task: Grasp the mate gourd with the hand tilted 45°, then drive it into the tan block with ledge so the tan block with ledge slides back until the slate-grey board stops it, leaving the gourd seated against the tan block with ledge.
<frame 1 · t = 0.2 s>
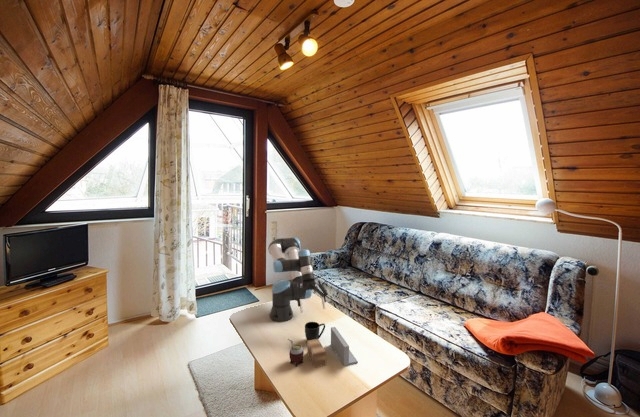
hand: (313, 310, 166), 16 cm above the table, tool tilted 35°, fingers open, 13 cm apart
mate gourd: (296, 363, 143), on the table
mug: (315, 340, 163), on the table
backstop board: (339, 354, 150), on the table
tan block with ledge: (315, 352, 146), point 4 cm above the table, slide at 0.0 cm
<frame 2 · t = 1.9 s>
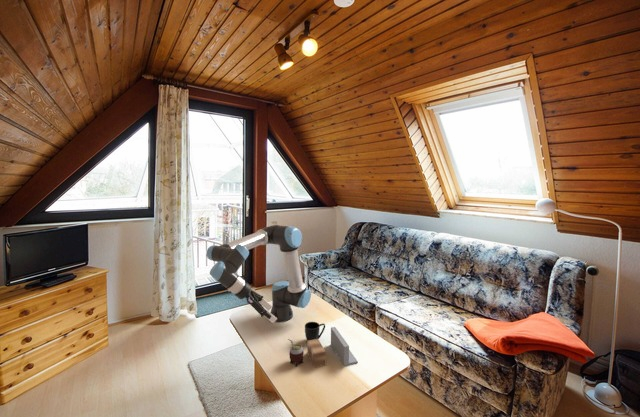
hand: (272, 314, 139), 26 cm above the table, tool tilted 45°, fingers open, 13 cm apart
nothing on the table moved.
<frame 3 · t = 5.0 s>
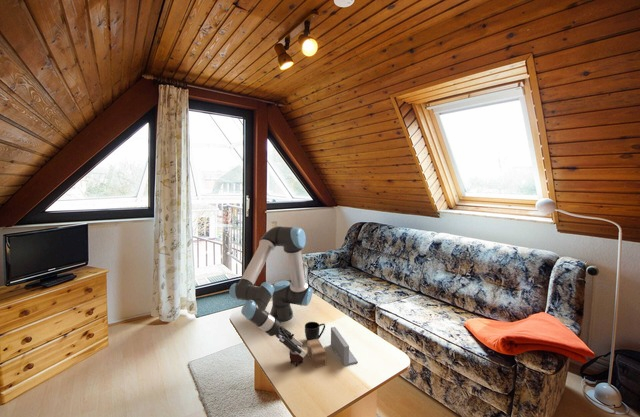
hand: (302, 350, 144), 6 cm above the table, tool tilted 45°, fingers open, 7 cm apart
mate gourd: (296, 363, 143), on the table, touching gripper
everything else where it was.
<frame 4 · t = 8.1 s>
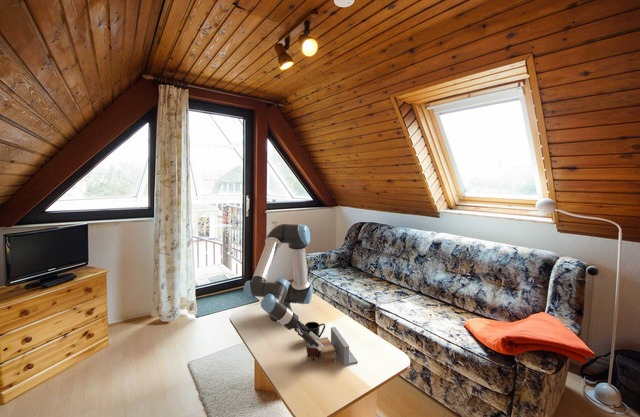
hand: (319, 344, 146), 8 cm above the table, tool tilted 45°, fingers closed on mate gourd, 7 cm apart
mate gourd: (312, 357, 145), point 2 cm above the table, touching gripper, tan block with ledge
tan block with ledge: (325, 350, 148), point 4 cm above the table, slide at 5.1 cm, touching mate gourd
everything else where it was.
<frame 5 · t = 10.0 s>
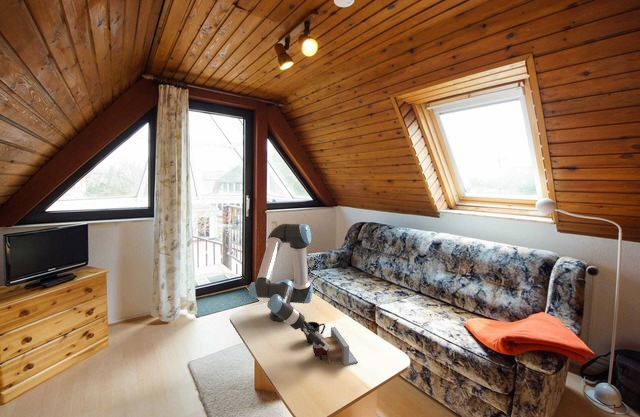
hand: (325, 343, 147), 7 cm above the table, tool tilted 45°, fingers closed on mate gourd, 7 cm apart
mate gourd: (320, 356, 147), point 1 cm above the table, touching gripper, tan block with ledge
tan block with ledge: (331, 349, 149), point 4 cm above the table, slide at 8.5 cm, touching backstop board, mate gourd
everything else where it was.
when the fingers open (7 cm above the table, at t = 10.0 s): mate gourd stays where it is, resting on tan block with ledge.
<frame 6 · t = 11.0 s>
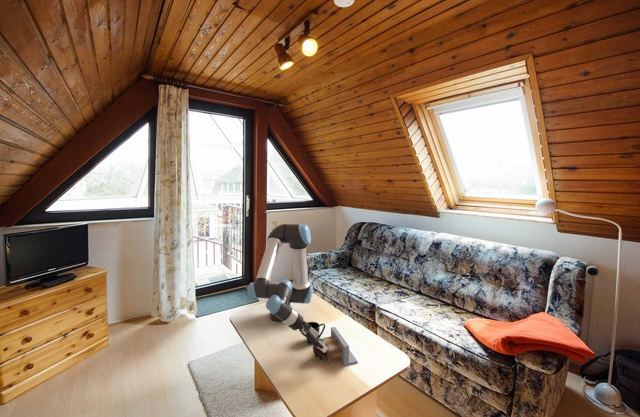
hand: (321, 342, 146), 8 cm above the table, tool tilted 45°, fingers open, 13 cm apart
mate gourd: (320, 356, 147), point 1 cm above the table, touching tan block with ledge
tan block with ledge: (331, 349, 149), point 4 cm above the table, slide at 8.5 cm, touching mate gourd
everything else where it was.
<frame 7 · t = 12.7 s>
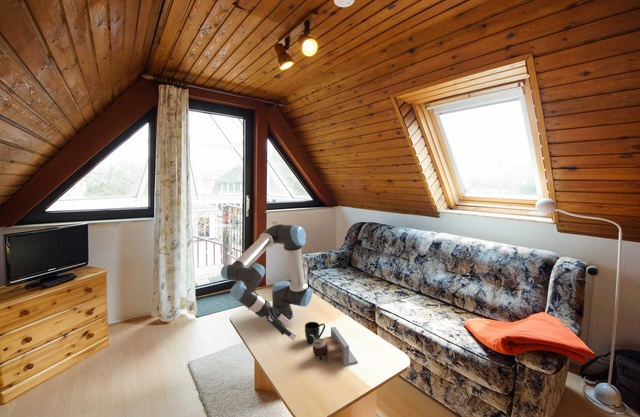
hand: (291, 330, 142), 17 cm above the table, tool tilted 45°, fingers open, 13 cm apart
nothing on the table moved.
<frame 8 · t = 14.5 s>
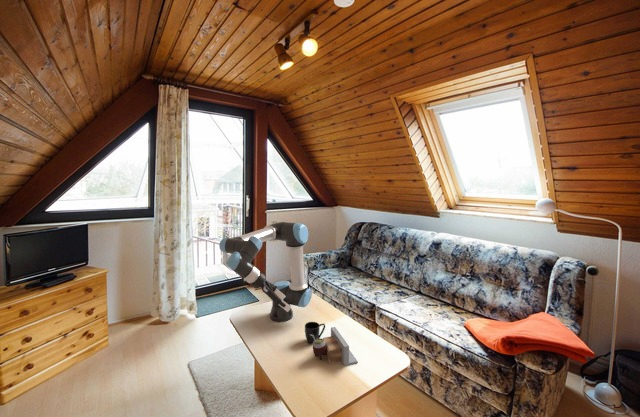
hand: (286, 303, 143), 30 cm above the table, tool tilted 45°, fingers open, 13 cm apart
nothing on the table moved.
at the end: tan block with ledge slide at 8.5 cm; mate gourd 6.4 cm from the tan block with ledge (horizontally); mate gourd tilted 8° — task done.
